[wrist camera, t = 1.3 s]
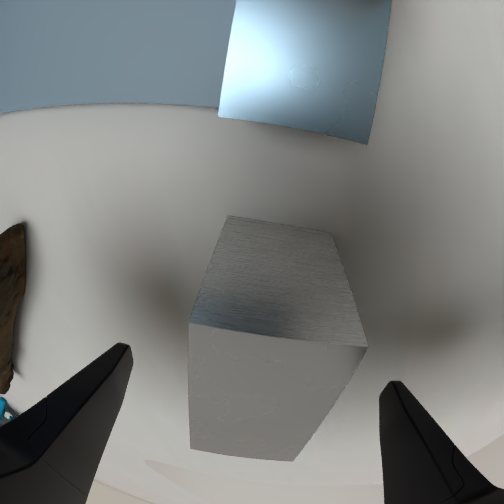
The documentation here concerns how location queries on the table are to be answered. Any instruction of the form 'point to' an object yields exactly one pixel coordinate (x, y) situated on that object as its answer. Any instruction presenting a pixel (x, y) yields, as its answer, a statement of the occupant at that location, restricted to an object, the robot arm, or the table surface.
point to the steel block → (269, 340)
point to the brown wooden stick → (10, 295)
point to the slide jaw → (306, 64)
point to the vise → (112, 52)
